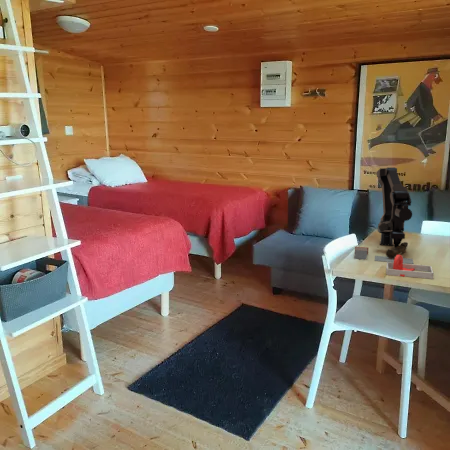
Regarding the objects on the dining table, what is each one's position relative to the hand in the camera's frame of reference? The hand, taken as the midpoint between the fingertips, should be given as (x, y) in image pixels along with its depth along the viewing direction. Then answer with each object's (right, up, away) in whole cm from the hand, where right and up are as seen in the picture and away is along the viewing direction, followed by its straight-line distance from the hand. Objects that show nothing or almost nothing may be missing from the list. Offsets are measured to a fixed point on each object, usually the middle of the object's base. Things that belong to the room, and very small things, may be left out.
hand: (395, 249), depth 209 cm
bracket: (-8, -8, -28) cm, 30 cm away
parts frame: (-6, -8, -30) cm, 31 cm away
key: (-18, -3, -6) cm, 19 cm away
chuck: (-19, -3, -8) cm, 21 cm away
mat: (-5, -4, -12) cm, 14 cm away
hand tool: (-2, -2, -4) cm, 5 cm away
